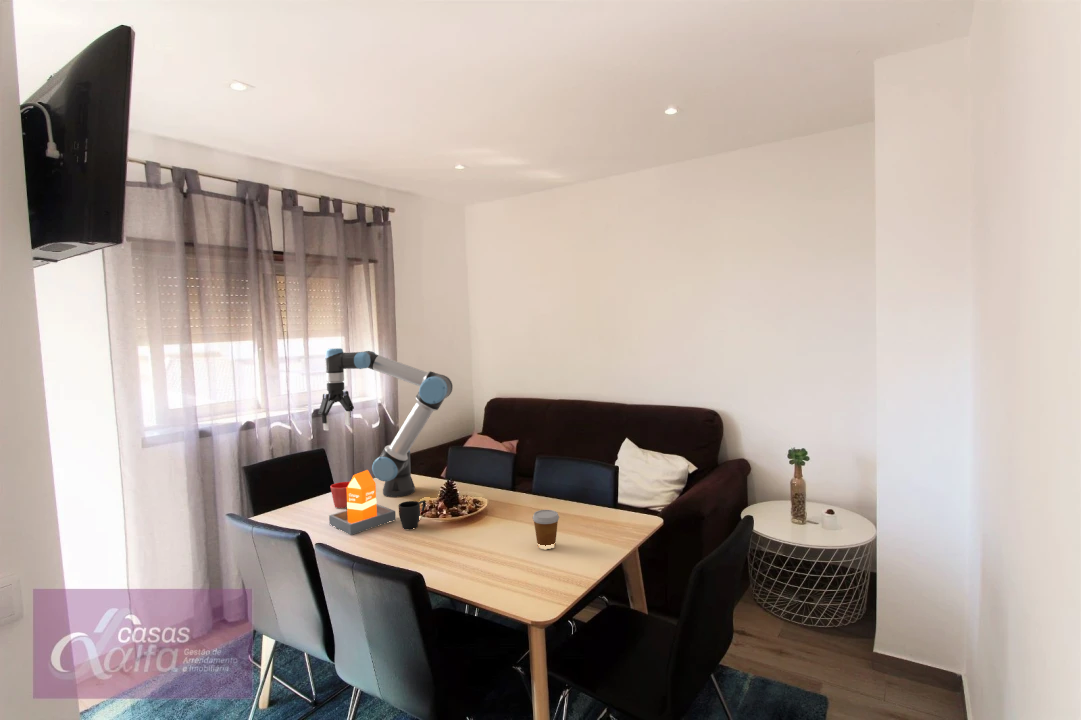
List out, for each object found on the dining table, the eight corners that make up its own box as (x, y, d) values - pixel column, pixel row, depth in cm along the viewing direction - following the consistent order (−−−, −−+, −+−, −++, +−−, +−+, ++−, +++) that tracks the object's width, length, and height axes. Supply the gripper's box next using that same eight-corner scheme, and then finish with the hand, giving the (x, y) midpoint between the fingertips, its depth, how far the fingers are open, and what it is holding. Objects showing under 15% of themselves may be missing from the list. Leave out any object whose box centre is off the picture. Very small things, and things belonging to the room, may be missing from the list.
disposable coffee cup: (540, 554, 181) (540, 520, 180) (528, 544, 190) (527, 512, 189) (564, 548, 186) (564, 515, 185) (551, 539, 194) (551, 507, 193)
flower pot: (347, 500, 246) (346, 480, 245) (361, 504, 239) (360, 483, 239) (326, 506, 237) (325, 485, 237) (340, 511, 231) (339, 489, 230)
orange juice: (347, 522, 213) (345, 474, 212) (362, 515, 221) (360, 468, 220) (363, 525, 210) (361, 475, 209) (377, 517, 218) (375, 470, 217)
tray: (373, 511, 229) (373, 502, 229) (395, 520, 218) (395, 510, 217) (329, 525, 214) (329, 515, 214) (350, 535, 203) (350, 524, 202)
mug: (432, 523, 213) (431, 500, 212) (408, 533, 203) (407, 508, 203) (419, 519, 218) (418, 497, 217) (395, 528, 209) (394, 504, 208)
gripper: (348, 379, 254) (349, 422, 255) (308, 384, 231) (310, 432, 232) (360, 379, 251) (362, 423, 253) (321, 384, 228) (323, 433, 229)
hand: (337, 427), depth 242 cm, fingers open, 13 cm apart
